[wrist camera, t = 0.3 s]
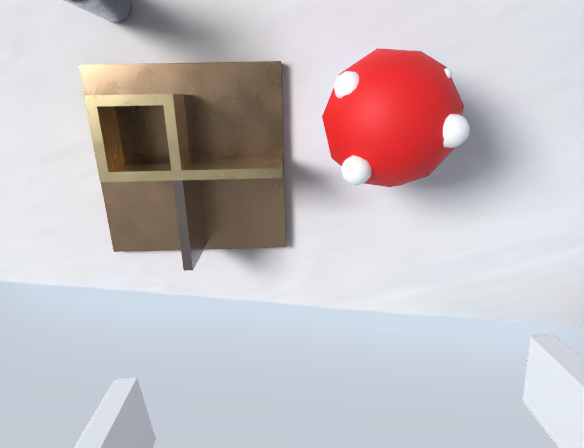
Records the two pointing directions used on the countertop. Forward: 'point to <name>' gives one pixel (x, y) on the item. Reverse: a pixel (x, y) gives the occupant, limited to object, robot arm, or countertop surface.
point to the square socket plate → (189, 154)
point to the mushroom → (393, 118)
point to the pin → (106, 8)
